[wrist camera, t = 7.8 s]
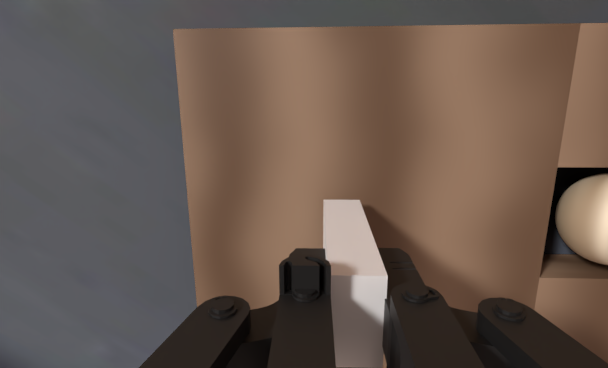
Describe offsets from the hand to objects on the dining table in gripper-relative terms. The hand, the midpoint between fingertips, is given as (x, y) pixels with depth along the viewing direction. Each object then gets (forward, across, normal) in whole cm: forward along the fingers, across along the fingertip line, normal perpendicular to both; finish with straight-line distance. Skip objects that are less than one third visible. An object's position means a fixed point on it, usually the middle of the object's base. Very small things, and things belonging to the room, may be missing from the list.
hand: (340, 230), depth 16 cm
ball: (+1, +12, 0) cm, 12 cm away
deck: (+3, +5, 0) cm, 6 cm away
